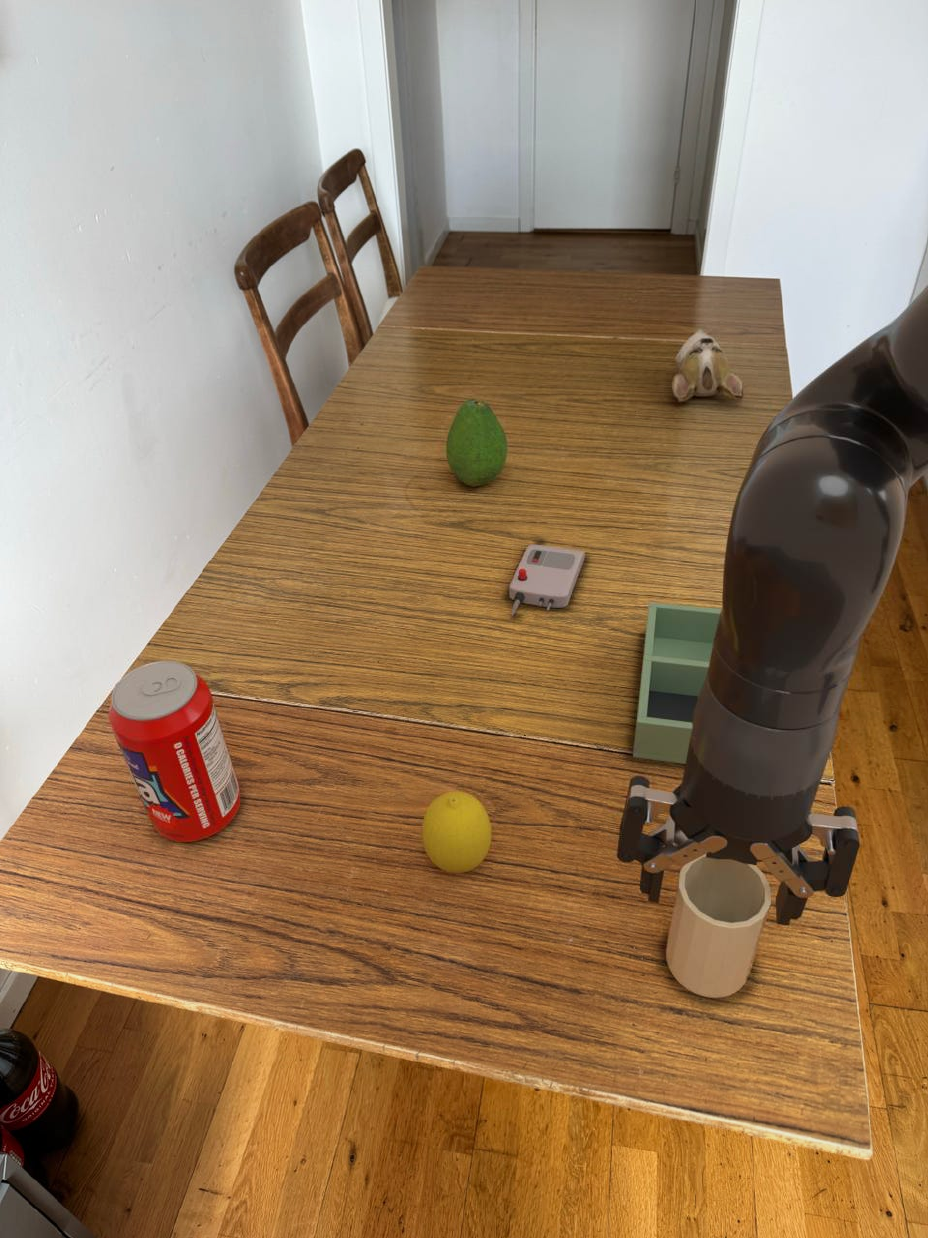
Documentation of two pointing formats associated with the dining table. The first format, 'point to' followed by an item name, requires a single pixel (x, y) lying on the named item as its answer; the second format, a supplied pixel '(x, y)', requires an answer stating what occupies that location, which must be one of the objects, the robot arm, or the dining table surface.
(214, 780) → the soda can
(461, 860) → the lemon
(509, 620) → the dining table surface
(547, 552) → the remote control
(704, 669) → the holder
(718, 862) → the cup
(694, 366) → the ceramic sculpture
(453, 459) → the fruit
